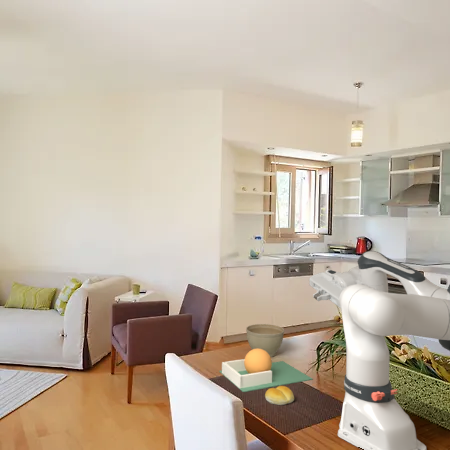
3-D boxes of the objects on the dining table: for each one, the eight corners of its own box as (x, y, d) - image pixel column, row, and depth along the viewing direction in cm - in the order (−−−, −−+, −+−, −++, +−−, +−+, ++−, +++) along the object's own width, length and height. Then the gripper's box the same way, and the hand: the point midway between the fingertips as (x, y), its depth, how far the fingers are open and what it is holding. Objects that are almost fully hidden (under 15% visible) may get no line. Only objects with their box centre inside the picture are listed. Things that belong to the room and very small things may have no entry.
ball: (263, 352, 141) (243, 373, 141) (281, 368, 145) (261, 388, 145) (254, 338, 151) (235, 357, 151) (271, 353, 154) (252, 372, 154)
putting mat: (312, 379, 146) (312, 378, 146) (243, 392, 135) (243, 391, 135) (282, 361, 164) (282, 360, 164) (219, 371, 153) (219, 370, 153)
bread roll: (260, 397, 131) (260, 385, 131) (283, 392, 135) (284, 380, 135) (274, 408, 124) (274, 395, 124) (298, 403, 128) (298, 390, 128)
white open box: (271, 382, 142) (272, 371, 142) (239, 388, 137) (240, 376, 137) (251, 368, 156) (251, 357, 156) (221, 373, 151) (222, 362, 151)
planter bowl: (246, 360, 166) (246, 333, 166) (245, 347, 182) (245, 323, 182) (285, 361, 165) (286, 334, 165) (281, 348, 181) (282, 324, 181)
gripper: (361, 305, 155) (334, 319, 149) (325, 279, 171) (298, 291, 166) (363, 291, 152) (334, 305, 146) (325, 267, 168) (298, 278, 163)
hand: (315, 297), depth 156 cm, fingers closed
